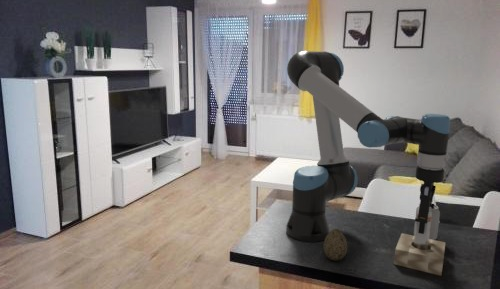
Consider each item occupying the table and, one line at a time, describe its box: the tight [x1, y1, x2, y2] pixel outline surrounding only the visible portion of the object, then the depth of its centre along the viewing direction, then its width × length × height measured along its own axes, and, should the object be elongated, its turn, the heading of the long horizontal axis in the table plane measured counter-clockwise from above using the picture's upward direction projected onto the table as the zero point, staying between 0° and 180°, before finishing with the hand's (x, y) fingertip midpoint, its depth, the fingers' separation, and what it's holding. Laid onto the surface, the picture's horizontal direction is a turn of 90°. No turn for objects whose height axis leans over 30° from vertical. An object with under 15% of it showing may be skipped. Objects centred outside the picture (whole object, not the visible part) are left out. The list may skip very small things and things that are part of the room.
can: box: [413, 203, 441, 240], centre depth 136 cm, size 8×8×12 cm
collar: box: [393, 232, 446, 277], centre depth 120 cm, size 13×13×5 cm
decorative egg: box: [323, 228, 348, 262], centre depth 119 cm, size 7×7×10 cm
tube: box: [414, 210, 432, 250], centre depth 119 cm, size 4×4×16 cm
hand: (422, 234), depth 119 cm, fingers open, 13 cm apart
